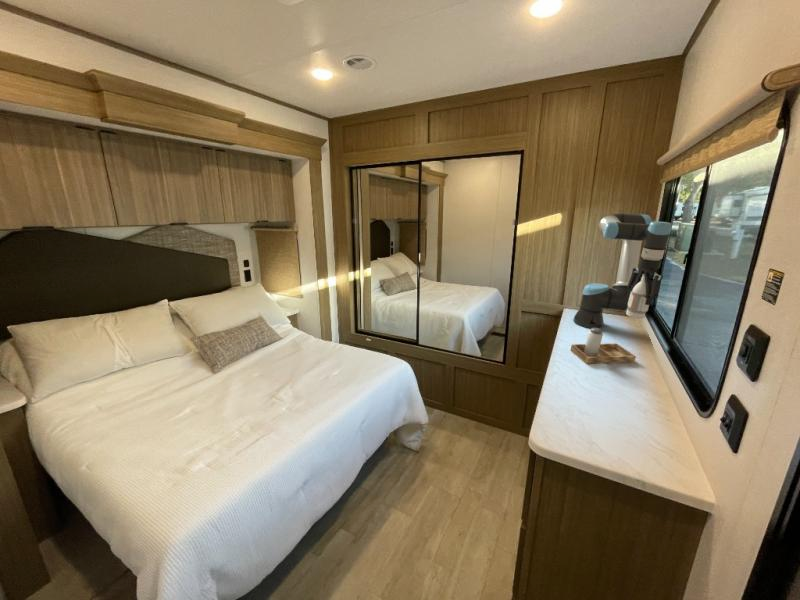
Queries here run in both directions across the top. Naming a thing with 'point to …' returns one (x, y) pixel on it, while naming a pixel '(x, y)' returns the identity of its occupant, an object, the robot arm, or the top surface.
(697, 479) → the top surface
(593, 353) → the white and grey cylinder
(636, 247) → the robot arm
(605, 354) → the caddy
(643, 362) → the top surface
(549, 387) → the top surface
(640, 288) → the bath foam
